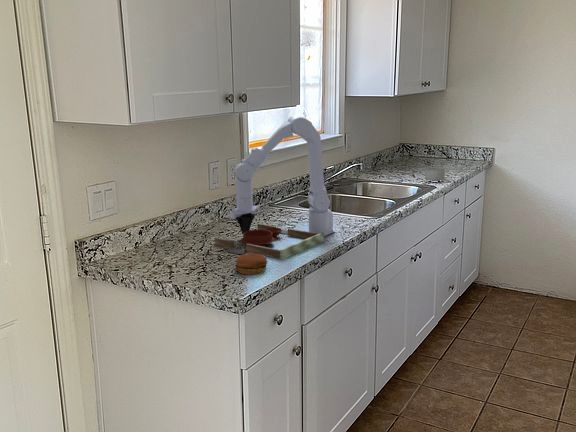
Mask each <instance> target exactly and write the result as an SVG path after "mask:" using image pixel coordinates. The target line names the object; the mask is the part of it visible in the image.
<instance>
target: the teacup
mask: <svg viewBox="0 0 576 432" xmlns="http://www.w3.org/2000/svg"><path fill="white" fill-rule="evenodd" d="M445 169H446V167H443V166H430V167H425V168H424V178H425V180H426V181H427V180H432V181H440V180H442V181H443V180H444V179H445V176H446V171H445Z"/></svg>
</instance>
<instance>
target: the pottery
mask: <svg viewBox="0 0 576 432" xmlns="http://www.w3.org/2000/svg"><path fill="white" fill-rule="evenodd" d="M282 230H283V229H282V228H281V227H276V228H267V229H265V230H258V229H250V230H249V231H246V232H244V233H243V234H242V238H240V242H241V243H243V244H245V245H246V244H252V245H257V246H263V247H267V245H269V244H271V243H274V242H276V241H275V239H277V238H278V236H279V235H280V232H281V231H282Z"/></svg>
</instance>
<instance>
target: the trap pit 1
mask: <svg viewBox="0 0 576 432" xmlns="http://www.w3.org/2000/svg"><path fill="white" fill-rule="evenodd" d="M224 252H225V253H229V254H235V255H239V256H240V255H242V254H245V253H247V252H246V249H241V248H236V247H234V248H227V249H226V250H224Z"/></svg>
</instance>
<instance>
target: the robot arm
mask: <svg viewBox="0 0 576 432" xmlns="http://www.w3.org/2000/svg"><path fill="white" fill-rule="evenodd" d="M295 135H297V136H299V137H300V138H302V139H303V141H305V142H306V148H307V149H306V150H307V161H308V162H307V163H308V173H309V174H308V175H309V188H308V195H307V203H308V204H309V208H308V230H307V232H313V233H324V237H325V236H328V235H330V234H333V233H335V232H336V230H334V214H333V211H332V210H331V209H330V205H331V201H330V198H329V196H328V191H327V188H326V186H325V179H324V167H323V166H324V165H323V152H322V150H323V149H322V140H321V139H322V137H321V135H320V133H319V132H318V130H317V129H316V128H315V126H314V125H313V123H312V121H310V120H309V119H307V118H306V117H303V116H299V115H293V116H290V117H289V118H288V119H287V121H284V122H283V123H282V124H281V125H280V126H279V127H278V129H276V131H275V132H274V133H273V134H272V135H271V136H270V137H269V138H268V139H267V141H265V143H264V144H263V145H262V146H257V147H255V148H252V149H251V150H250V153H249V154H248V155H247V156H246V157H245V158H244V159H241V163H238V164H237V165H236V166H235V169H234V171H233V173H234V175H235V177H236V178H235V182H236V184H235V192H236V194H235V196H236V197H235V200H236V201H235V202H236V208H234V210H233V211H230V212H229V219H232V220H235V219H236V221H237V224H238V225H239V228H240V230H241V235H243V233H244V232H246V231H249V230H251V226H252V223H253V221H254V219H255V217H256V216H255V214H253V213H255V212H256V213H258V212H260V205H254V203H253V202H254V201H253V200H254V199H253V184H252V179H253V177H254V173H255V172H257V170H259V168H261V167H262V166H263V164H265V162H266V161H268V159H269V153H271V152H272V151H273V150H274V149H275V148H276V147H277V146H278V145H279V144H280V143H281V142H283V140H284V139H288V138H291V137H294V136H295Z"/></svg>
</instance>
